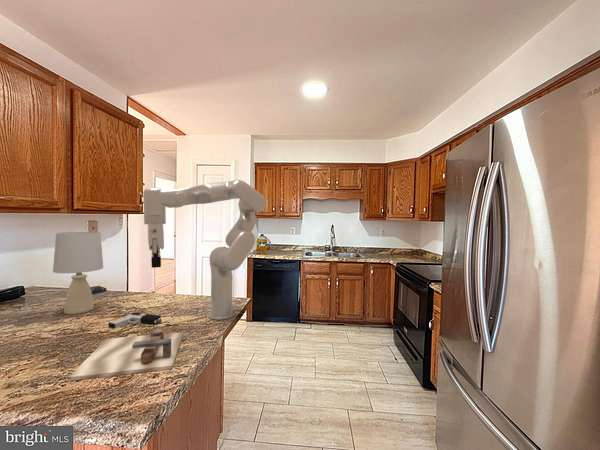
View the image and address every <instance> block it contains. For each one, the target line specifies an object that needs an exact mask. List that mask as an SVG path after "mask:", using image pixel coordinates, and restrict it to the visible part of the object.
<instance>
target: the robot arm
mask: <svg viewBox="0 0 600 450" xmlns="http://www.w3.org/2000/svg"><path fill="white" fill-rule="evenodd" d="M142 196H143V223H144V225H147V238H148V239H147V240H148V241H147V242H148V250H149V251H151V268H152V269H153V268H161V267H162V256H161V250H164V249H165V235H164V234H165V233H164V232H165V231H164V225H166V224H167V216H166V208H169V209H175V208H176V209H177V208H182V207H185V206H188V205H200V204H201V205H202V204H203V205H206V204H212V203H217V202H223V201H229V200H237V199H238V209H239V216H238V219H237V220H236V222H235V224H234V225H233V226H232V228H231V229H230V230H229V232H228V233H227V234H226V237H225V244H226V246H228V247H225V246H217V247H215V248H213V250H212V251H211V252H210V255H209V267H210V310H209V311H208V312H207V313H206V316H207V318H208V319H210V320H216V321H218V320H219V321H221V320H227V319H230V318H231V319H232V318H234V317H235V316H236V312H241V311H243V306H240V305H234V303H233V281H234V280H233V278H234V277H233V271H235V270H236V271H237V270H238V269H239V268H240V267H241V266H242V264H243V263H244V261H245V260H246V259H247V257H248V255H249V254H250V253H251V251H252V250H253V248H254V247H255V243H256V237H255V235H254V233H253V230H254V228H255V225H256V223H257V222H256V221H257V220H256V219H257V218H256V213H260V212H263V211H264V210H265V209H266V206H267V201H266V198H265V196H264V195H263V194H261V193H260V192H258V190H257V189H255V188H254V187H252V186H251V185H250V184H249V183H247V182H246V181H244V180H241V179H235V180H229V181H220V182H211V183H204V184H199V185H195V186H191V187H184V188H168V189H164V188H163V189H162V188H157V187H156V188H155V187H154V188H152V187H150V188H145V189H144V190H143V193H142Z"/></svg>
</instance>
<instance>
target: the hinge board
mask: <svg viewBox="0 0 600 450" xmlns="http://www.w3.org/2000/svg"><path fill="white" fill-rule="evenodd" d="M161 331H162V329H160V328H156V329H153V330H152V333H153V334H154V335H157V334H160V333H161ZM183 337H184V331H183V332H171V333H170V332H169V333H164V339H160V340H150V334H147V335H145V334H144V335H135V336H122V337H111V338H105V339H104V340H103V341H102V342H101V343H100V344H99V345H98V346H97V347H96V349H94V351H93V352H91V354H90V355H89V356H88V357H87V358H86V359H85V360H84V361H83V362H82V363H81V364H79V366H78V367H77V368H76V369H75V370H74V371H73V372H72V373H71V374H70V375H69V376H68V381H69V382H71V381H78V380H87V379H98V378H106V377H113V376H122V375H129V374H132V375H133V374H139V373H141V374H142V373H146V372H147V373H148V372H156V371H166V370H172V369H173V367H174V364H175V361H176V359H177V355H178V352H179V350H180V346H181V343H182V340H183ZM154 346H158V348H157V350H156V352H155V355H154V357H153V359H152V360H151V361H150V362H147V363H142V362H141V354H142V352H143V350H144V348H145V347H154Z"/></svg>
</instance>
